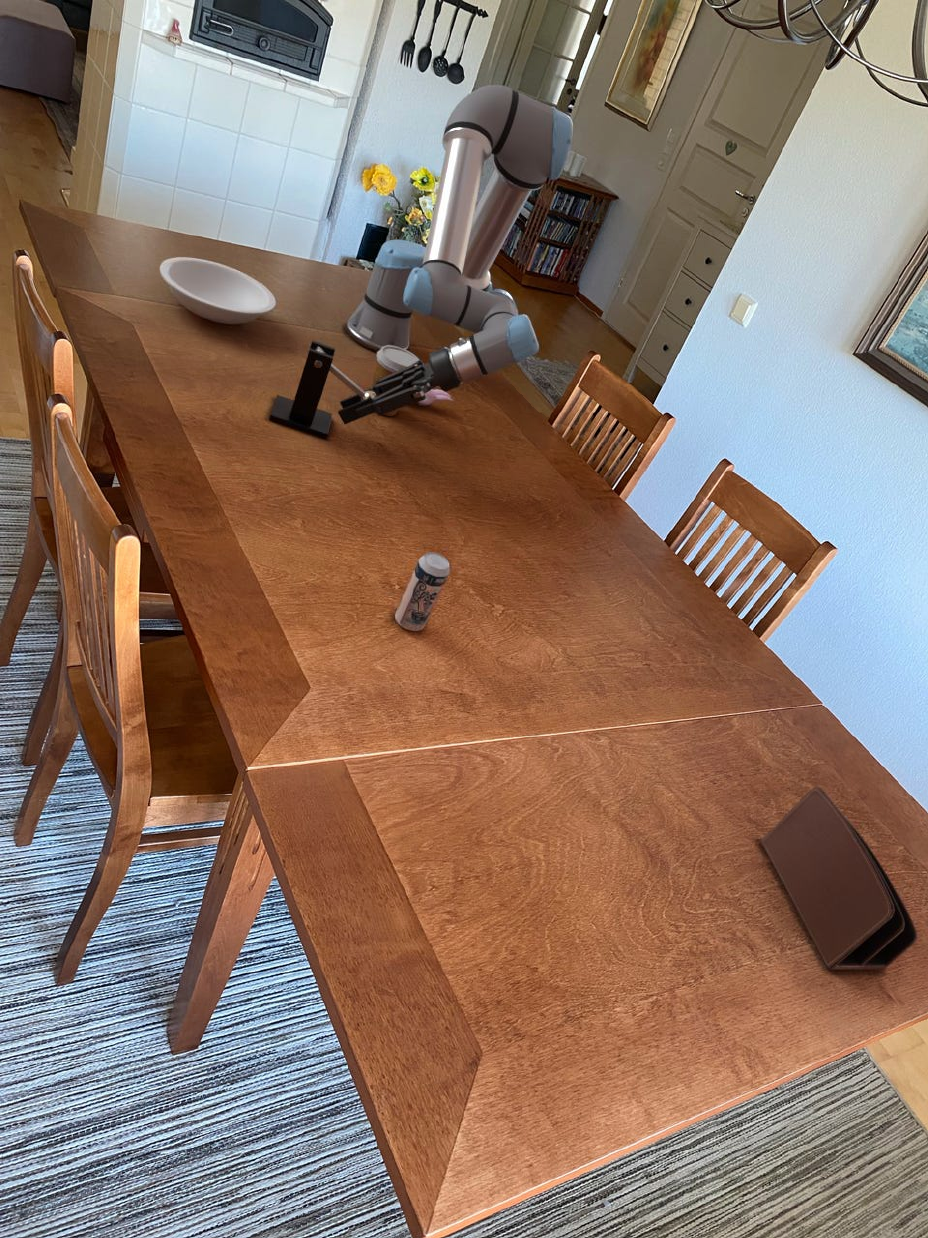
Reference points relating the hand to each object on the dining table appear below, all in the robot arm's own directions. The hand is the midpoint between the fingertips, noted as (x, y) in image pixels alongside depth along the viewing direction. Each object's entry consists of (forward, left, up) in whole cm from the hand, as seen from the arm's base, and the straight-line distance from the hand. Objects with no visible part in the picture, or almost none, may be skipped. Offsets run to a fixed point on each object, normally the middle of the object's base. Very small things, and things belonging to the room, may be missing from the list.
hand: (342, 412), depth 175 cm
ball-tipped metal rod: (0, -2, +5) cm, 5 cm away
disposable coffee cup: (-19, +3, -4) cm, 20 cm away
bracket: (+2, -7, -4) cm, 8 cm away
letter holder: (+63, +98, -4) cm, 117 cm away
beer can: (+46, +30, -4) cm, 55 cm away
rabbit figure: (-29, +8, -4) cm, 31 cm away
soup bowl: (-24, -39, -4) cm, 46 cm away
